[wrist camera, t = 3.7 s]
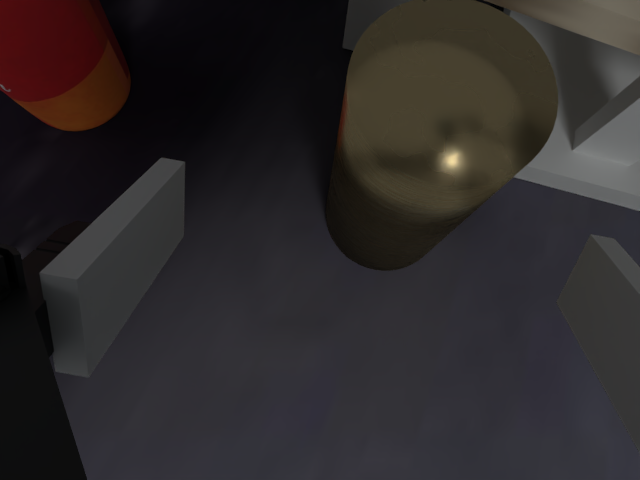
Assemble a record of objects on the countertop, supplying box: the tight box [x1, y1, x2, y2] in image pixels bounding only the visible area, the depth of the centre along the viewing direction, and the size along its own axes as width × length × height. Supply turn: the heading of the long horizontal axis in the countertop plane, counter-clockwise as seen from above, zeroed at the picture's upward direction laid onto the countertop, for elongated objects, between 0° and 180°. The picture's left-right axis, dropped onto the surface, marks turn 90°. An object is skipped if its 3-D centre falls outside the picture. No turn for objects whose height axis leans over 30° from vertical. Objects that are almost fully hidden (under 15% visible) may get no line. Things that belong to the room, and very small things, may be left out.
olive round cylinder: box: [326, 0, 558, 271], centre depth 20 cm, size 6×6×12 cm
